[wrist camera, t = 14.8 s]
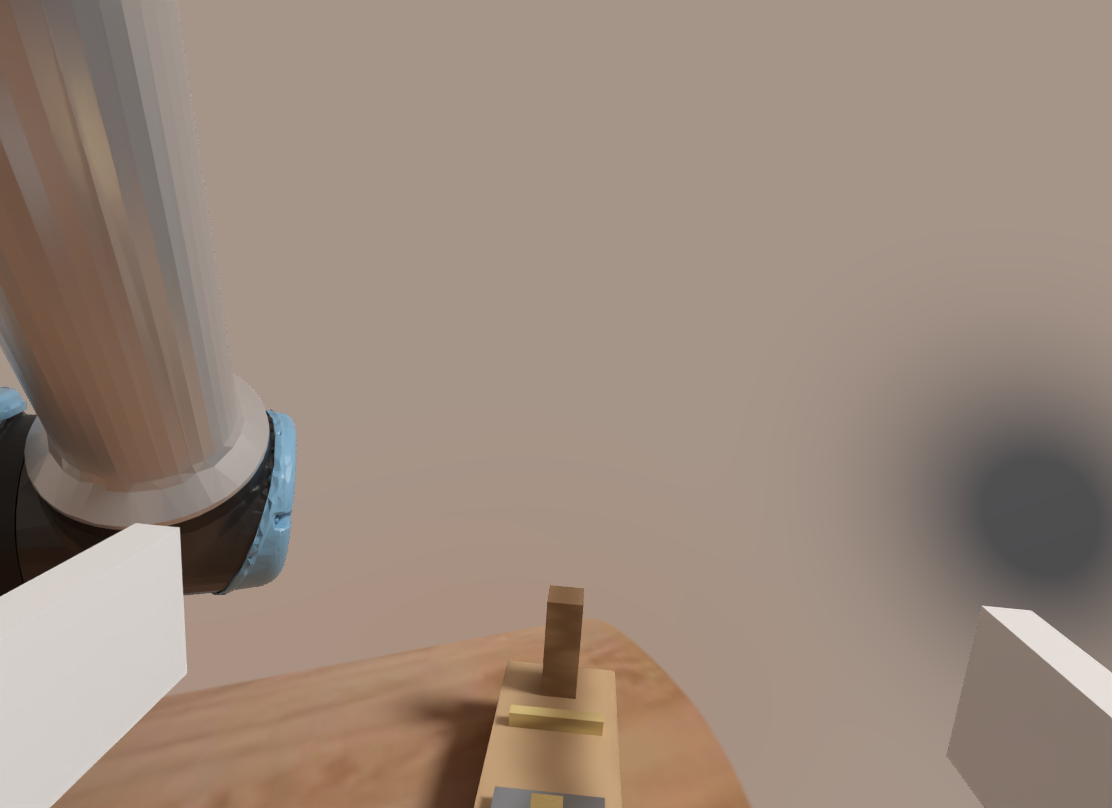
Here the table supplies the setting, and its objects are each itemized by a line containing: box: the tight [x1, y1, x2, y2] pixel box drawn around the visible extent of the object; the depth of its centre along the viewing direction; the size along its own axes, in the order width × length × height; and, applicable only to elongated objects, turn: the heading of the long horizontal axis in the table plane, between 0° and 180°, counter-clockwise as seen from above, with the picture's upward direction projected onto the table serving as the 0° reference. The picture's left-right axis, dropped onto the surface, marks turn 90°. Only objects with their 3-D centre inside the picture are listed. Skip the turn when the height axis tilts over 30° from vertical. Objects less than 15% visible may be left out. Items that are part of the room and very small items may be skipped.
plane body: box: [474, 585, 622, 808], centre depth 38 cm, size 8×18×11 cm, turn 177°
